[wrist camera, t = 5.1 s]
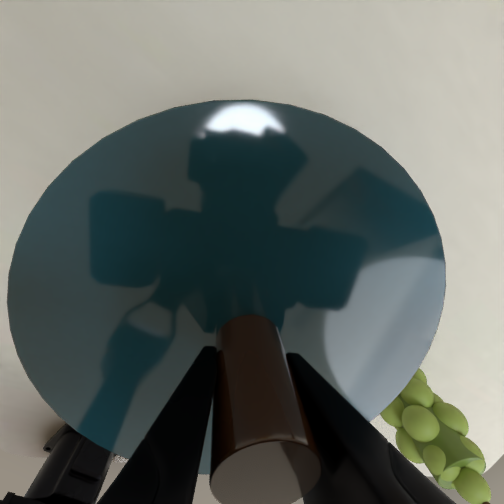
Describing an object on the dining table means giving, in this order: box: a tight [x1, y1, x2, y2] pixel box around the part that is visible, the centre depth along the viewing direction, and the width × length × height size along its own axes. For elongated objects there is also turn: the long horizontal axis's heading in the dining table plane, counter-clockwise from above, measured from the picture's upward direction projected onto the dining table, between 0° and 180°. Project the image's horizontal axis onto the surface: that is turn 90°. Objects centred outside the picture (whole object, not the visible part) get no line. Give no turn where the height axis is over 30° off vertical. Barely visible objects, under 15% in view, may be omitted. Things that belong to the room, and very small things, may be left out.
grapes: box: [380, 368, 491, 504], centre depth 22 cm, size 7×7×12 cm
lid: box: [7, 100, 446, 504], centre depth 7 cm, size 16×16×5 cm
